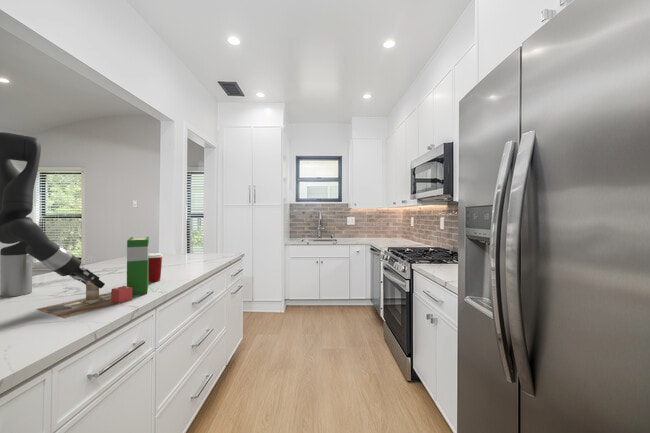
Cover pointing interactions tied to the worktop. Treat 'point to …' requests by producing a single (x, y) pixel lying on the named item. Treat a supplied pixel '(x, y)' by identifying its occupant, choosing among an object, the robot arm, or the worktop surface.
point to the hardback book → (138, 265)
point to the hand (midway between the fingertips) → (96, 285)
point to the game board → (78, 306)
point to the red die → (121, 294)
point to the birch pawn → (91, 293)
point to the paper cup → (155, 267)
